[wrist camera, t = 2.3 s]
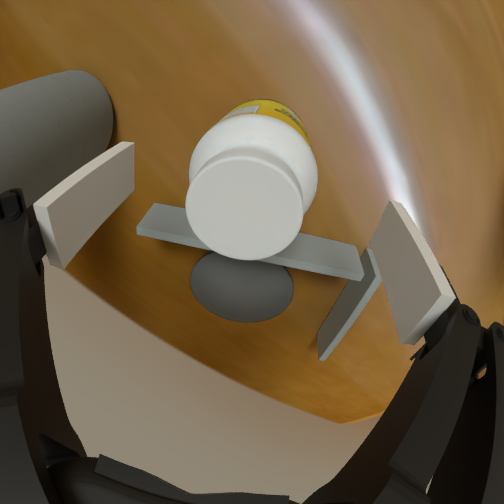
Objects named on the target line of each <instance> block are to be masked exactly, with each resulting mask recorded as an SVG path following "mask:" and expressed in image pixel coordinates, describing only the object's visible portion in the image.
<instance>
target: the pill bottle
mask: <svg viewBox="0 0 504 504" xmlns="http://www.w3.org/2000/svg"><path fill="white" fill-rule="evenodd" d="M189 182H190V186H189V188H188V192H187V196H186V205H185V207H186V215H187V218H188V222H189V224H190V226H191V228H192V230H193V232H194V233H195V235H196V236H197V237H198V238H199V239H200V240H201V241H202V242H203V243H204V244H205V245H206V246H207V247H209V248H210V249H212V250H213V251H215V252H217V253H219V254H221V255H224V256H227V257H230V258H234V259H240V260H258V259H263V258H267V257H270V256H273V255H275V254H277V253H279V252H280V251H282V250H283V249H285V248H286V247H287V246H288V245H289V244H290V243H291V242H292V241H293V240H294V238H295V237H296V236H297V234H298V232H299V230H300V228H301V225H302V221H303V215H304V214H305V213H306V211H307V210H308V208H309V207H310V205H311V203H312V201H313V199H314V196H315V193H316V189H317V182H318V172H317V165H316V161H315V158H314V155H313V152H312V149H311V146H310V143H309V140H308V137H307V134H306V131H305V128H304V126H303V123H302V122H301V120H300V118H299V117H298V116H297V115H296V113H295V112H294V111H292V110H291V109H290V108H289V107H287V106H286V105H284V104H282V103H280V102H277V101H273V100H268V99H256V100H251V101H247V102H245V103H243V104H240V105H239V106H237V107H236V108H234V109H233V110H232V111H231V112H229V113H228V114H227V115H226V116H225V117H223V118H222V119H221V120H220V121H219V122H218V123H217V124H215V125H214V126H213V127H212V128H211V129H210V130H209V131H208V132H207V133H206V134H205V135H204V136H203V137H202V138H201V140H200V141H199V142H198V144H197V146H196V148H195V150H194V152H193V154H192V157H191V161H190V167H189Z"/></svg>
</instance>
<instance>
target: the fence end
mask: <svg viewBox="0 0 504 504" xmlns="http://www.w3.org/2000/svg"><path fill="white" fill-rule="evenodd" d="M360 261H361V264H362V268H363V271H364V276H363V278H362V280H361V282H360V281H356V280H351V279H349V281H348V282H347V284H346V286H345V288H344V289H343V291H342V293H341V295H340V296H339V298H338V300H337V301H336V303H335V305H334V306H333V308H332V310H331V311H330V313H329V315H328V316H327V318H326V320H325V321H324V323H323V324H322V326H321V328H320V329H319V331H318V332H317V339H318V360H325V359H326V358H327V357H328V356H329V354H330V353H331V352H332V351H333V349H334V348H335V347H336V345H337V344H338V343H339V342H340V340H341V339H342V338H343V336H344V335H345V334H346V332H347V331H348V330H349V328H350V327H351V325H352V324H353V323H354V321H355V320H356V318H357V317H358V316H359V314H360V313H361V311H362V310H363V308H364V307H365V306H366V304H367V303H368V301H369V300H370V298H371V297H372V295H373V294H374V292H375V291H376V289H377V288H378V286H379V284H380V283H381V281H382V277H381V274H380V271H379V268H378V265H377V263H376V260H375V257H374V254H373V251H372V249H371V248H367V247H366V249H365V251H364V253H363V255H362V257H361V259H360Z"/></svg>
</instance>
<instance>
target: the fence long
mask: <svg viewBox="0 0 504 504" xmlns="http://www.w3.org/2000/svg"><path fill="white" fill-rule="evenodd" d="M137 235H142V236H146V237H151V238H155V239H160V240H165V241H169V242H174V243H178V244H183V245H188V246H192V247H197V248H202V249H206V250H211V251H213V250H212V249H210V248H209V247H207V246H206V245H205V244H204V243H203V242H202V241H201V240H200V239H199V238H198V237H197V236H196V235H195V233H194V232H193V230H192V228H191V226H190V224H189V222H188V218H187V215H186V208H181V207H175V206H170V205H165V204H160V203H154V204H153V205H152V207H151V208H150V209H149V211H148V212H147V213H146V215H145V216H144V217H143V219H142V220H141V221H140V223H139V224H138V225H137ZM258 261H263V262H268V263H273V264H278V265H282V266H287V267H292V268H297V269H302V270H307V271H311V272H316V273H321V274H326V275H331V276H336V277H341V278H346V279H351V280H356V281H360V282H361V280H362V278H363V276H364V271H363V268H362V264H361V261H360V258H359V254H358V251H357V248H356V246H355V245H351V244H347V243H342V242H338V241H334V240H330V239H326V238H321V237H317V236H313V235H309V234H304V233H300V232H298V234H297V236H296V237H295V238H294V240H293V241H292V242H291V243H290V244H289V245H288V246H287V247H286V248H285V249H283V250H282V251H280V252H279V253H277V254H275V255H273V256H270V257H267V258H263V259H258Z"/></svg>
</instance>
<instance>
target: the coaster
mask: <svg viewBox="0 0 504 504" xmlns="http://www.w3.org/2000/svg"><path fill="white" fill-rule="evenodd" d="M190 282H191V288H192V291H193V294H194V295H195V297H196V299H197V300H198V301H199V302H200V303H201V304H202V306H204V307H205V308H206V309H207V310H209V311H210V312H212V313H214V314H215V315H217V316H220V317H222V318H225V319H228V320H232V321H237V322H259V321H264V320H268V319H270V318H273V317H275V316H277V315H278V314H280V313H281V312H283V311H284V310H285V309H286V308H287V306H288V305H289V303H290V302H291V299H292V296H293V282H292V279H291V276H290V274H289V272H288V271H287V269H286V268H285V267H284V266H282V265H278V264H273V263H268V262H263V261H258V260H240V259H234V258H230V257H227V256H224V255H221V254H219V253H217V252H215V251H212V252H210V253H208V254H206V255H204V256H203V257H202V258H201V259H200V260H199V261H198V262H197V263H196V265H195V266H194V268H193V271H192V274H191V279H190Z"/></svg>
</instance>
